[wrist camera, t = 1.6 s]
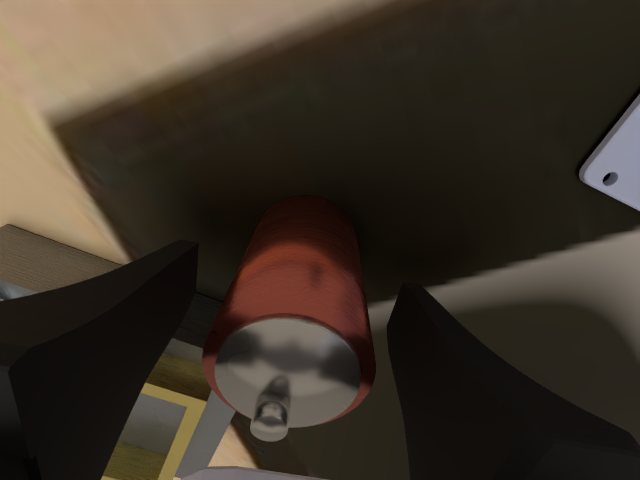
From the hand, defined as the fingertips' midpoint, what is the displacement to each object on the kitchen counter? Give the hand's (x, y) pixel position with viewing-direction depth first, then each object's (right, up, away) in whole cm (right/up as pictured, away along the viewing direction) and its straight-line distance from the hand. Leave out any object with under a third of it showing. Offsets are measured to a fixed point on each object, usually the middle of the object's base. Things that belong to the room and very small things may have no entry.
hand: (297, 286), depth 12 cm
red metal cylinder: (0, +1, +3) cm, 3 cm away
